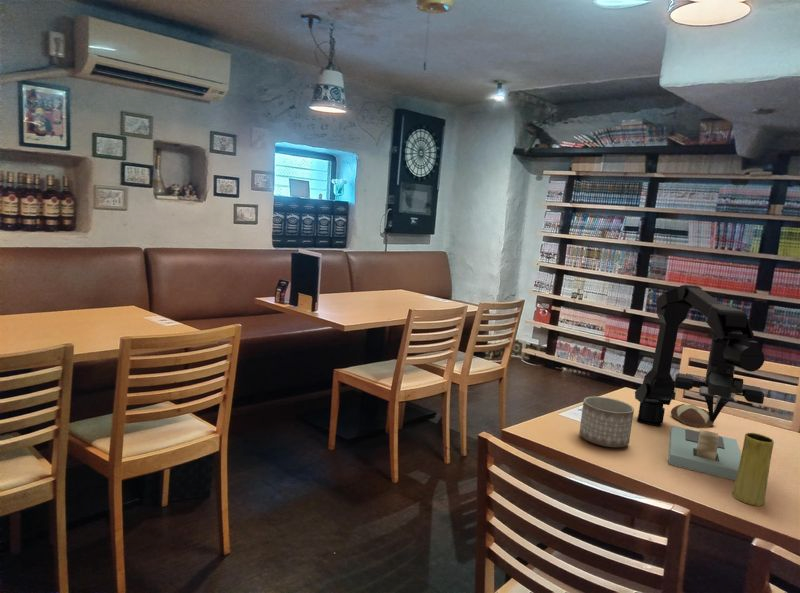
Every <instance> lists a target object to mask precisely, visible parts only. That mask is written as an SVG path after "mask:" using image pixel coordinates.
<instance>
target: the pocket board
mask: <svg viewBox="0 0 800 593" xmlns="http://www.w3.org/2000/svg"><path fill="white" fill-rule="evenodd" d="M699 433H700V430H696V429H695V430H694V429H691V428H685V427H681V426H676V425H673V424H671V428H670V433H669V450H668V451H669V452H668V465H671V466H672V465H673V466H676V467H680V468H683V469H688V470H691V471H696V472H700V473H703V474H708V475H710V476H711V475H712V476H715V477H719V478H724V479H727V480H728V479H729V480H732V481H736V476H737V473H738V469H739V464H740V460H741V455H742V453H741V451H740V448H739V447H740V446H739V444H738V440H737V439H736V438H731V437H728V436H722V435H719V442H718V448H717V454H716V459H715V461H714V460H710V459H706V458H702V457H698V456H696V451H697V445H698V439H699Z"/></svg>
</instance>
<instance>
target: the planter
mask: <svg viewBox="0 0 800 593" xmlns="http://www.w3.org/2000/svg"><path fill="white" fill-rule="evenodd" d="M634 412H635V408H634V406H632V405H631V404H630V403H628V402H625V401H622V400H620V399H616V398H611V397H605V396H595V395H594V396H587V397H585V398H584V399H583V402H582V410H581V418H580V424H579V426H580V427H579V430H578V431H579V435H580V436H581V437H582V439H584V440H585V441H587V442H590V443H593V444H595V445H599V446H602V447H607V448H624V447H627V446H628V445H630V441H631V440H630V439H631V431H632V427H633V426H632V425H633V419H634Z"/></svg>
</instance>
